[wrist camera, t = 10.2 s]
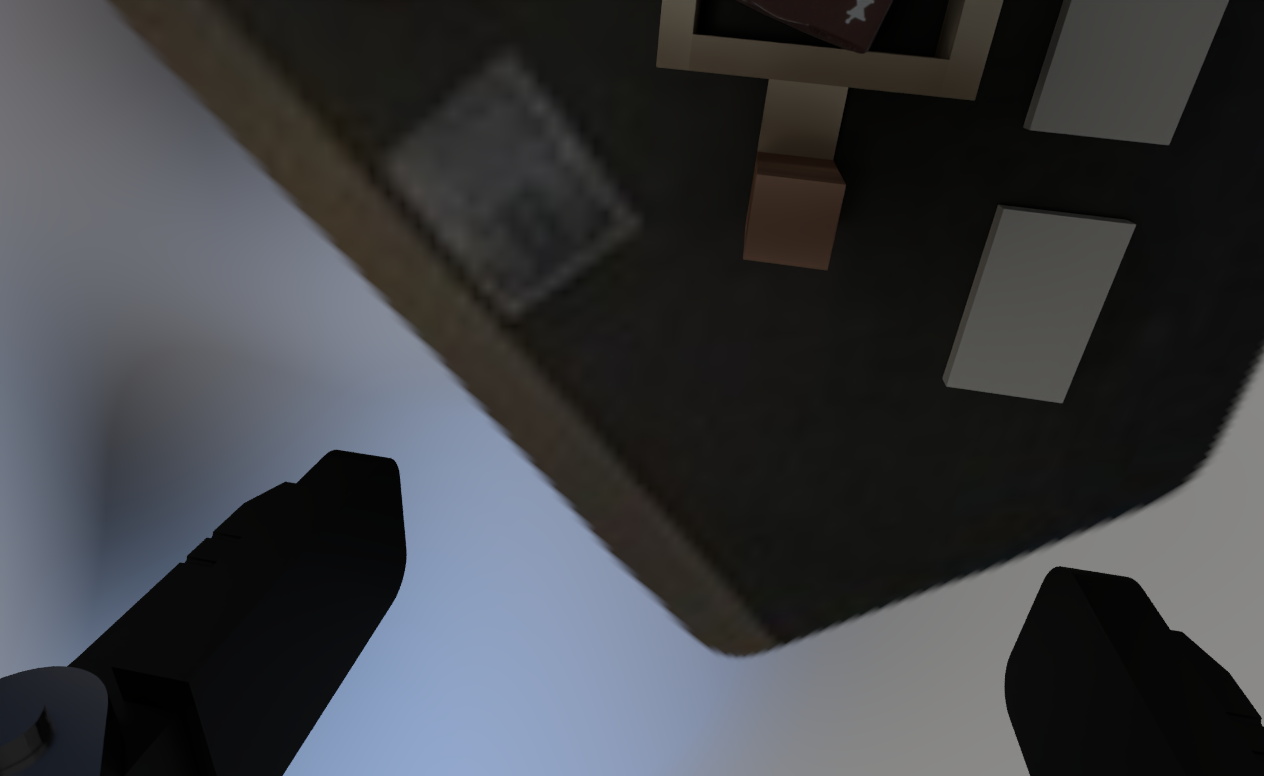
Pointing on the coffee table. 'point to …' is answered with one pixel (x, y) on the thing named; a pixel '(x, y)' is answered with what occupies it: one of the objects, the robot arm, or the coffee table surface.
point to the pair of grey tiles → (1066, 242)
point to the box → (829, 19)
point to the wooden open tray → (818, 113)
